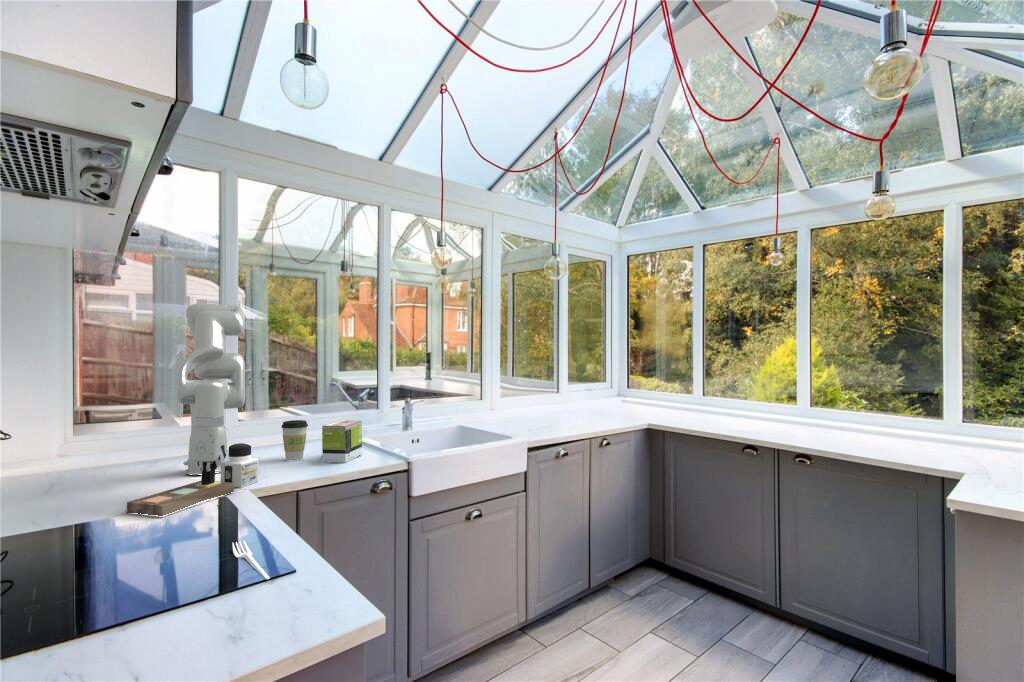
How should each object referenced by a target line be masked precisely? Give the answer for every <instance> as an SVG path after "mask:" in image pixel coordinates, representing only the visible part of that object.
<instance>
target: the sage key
mask: <svg viewBox="0 0 1024 682" xmlns="http://www.w3.org/2000/svg"><path fill="white" fill-rule="evenodd" d="M195 491H198V489H190V488H184V489H180V490H177V491H174V492H170V494H175V495H186V494H189V493H192V492H195Z"/></svg>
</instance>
